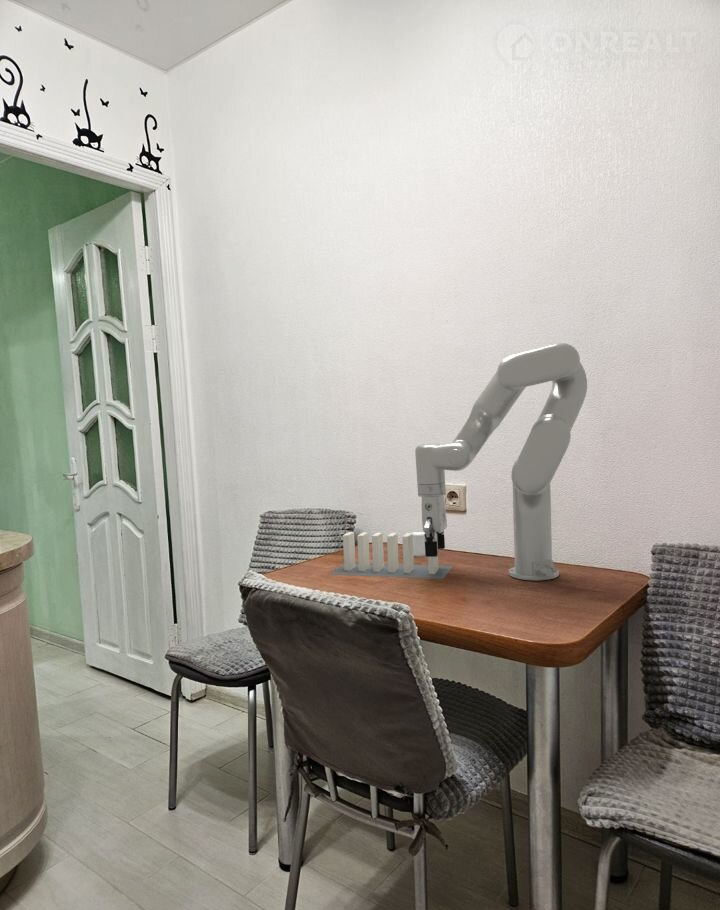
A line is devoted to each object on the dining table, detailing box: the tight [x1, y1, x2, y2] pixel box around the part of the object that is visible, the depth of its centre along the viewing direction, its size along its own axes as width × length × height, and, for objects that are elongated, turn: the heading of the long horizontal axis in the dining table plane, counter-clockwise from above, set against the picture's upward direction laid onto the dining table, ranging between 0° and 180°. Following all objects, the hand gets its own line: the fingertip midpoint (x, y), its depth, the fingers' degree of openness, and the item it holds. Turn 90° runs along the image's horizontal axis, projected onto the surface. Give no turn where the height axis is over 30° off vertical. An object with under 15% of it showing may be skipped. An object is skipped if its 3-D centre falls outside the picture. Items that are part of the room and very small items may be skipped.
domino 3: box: [371, 532, 385, 572], centre depth 181 cm, size 2×5×10 cm, turn 161°
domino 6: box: [427, 534, 439, 574], centre depth 176 cm, size 2×5×10 cm, turn 162°
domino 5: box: [402, 532, 415, 573], centre depth 178 cm, size 2×5×10 cm, turn 162°
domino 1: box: [342, 531, 357, 571], centre depth 184 cm, size 2×5×10 cm, turn 161°
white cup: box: [408, 530, 426, 557], centre depth 199 cm, size 7×7×7 cm
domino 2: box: [356, 531, 371, 571], centre depth 182 cm, size 2×5×10 cm, turn 162°
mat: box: [328, 562, 454, 580], centre depth 180 cm, size 32×14×1 cm, turn 71°
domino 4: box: [386, 532, 400, 572], centre depth 180 cm, size 2×5×10 cm, turn 161°
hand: (435, 552), depth 176 cm, fingers open, 9 cm apart
